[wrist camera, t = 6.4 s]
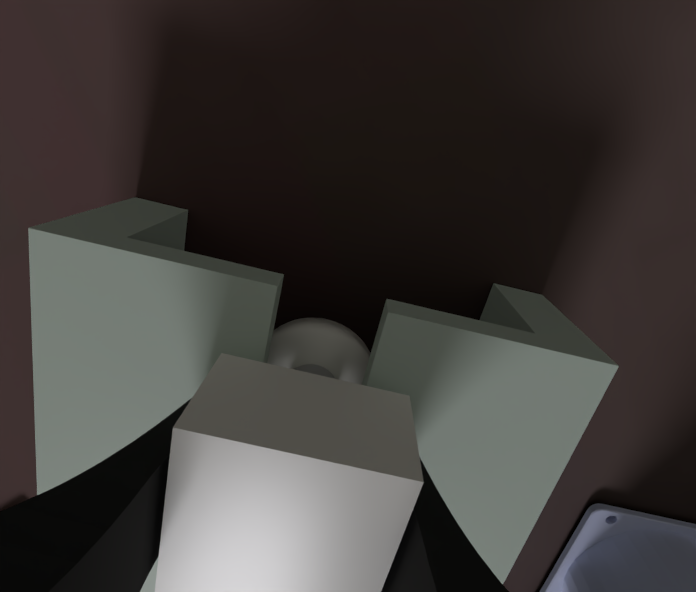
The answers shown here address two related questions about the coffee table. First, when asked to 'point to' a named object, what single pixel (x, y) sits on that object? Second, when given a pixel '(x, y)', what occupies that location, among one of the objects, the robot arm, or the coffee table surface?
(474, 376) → the slot bracket
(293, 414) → the peg
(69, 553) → the robot arm
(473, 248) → the coffee table surface
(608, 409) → the coffee table surface
